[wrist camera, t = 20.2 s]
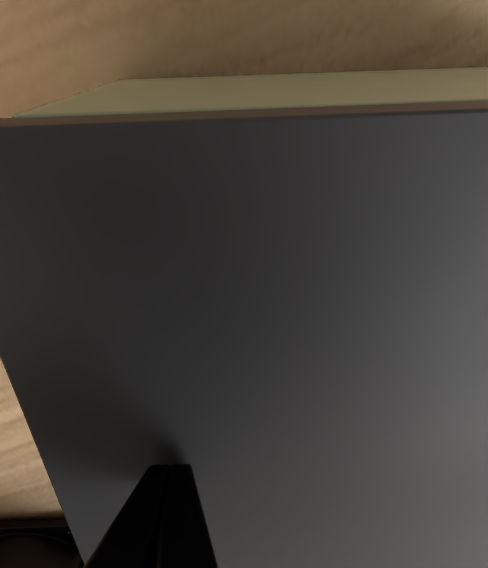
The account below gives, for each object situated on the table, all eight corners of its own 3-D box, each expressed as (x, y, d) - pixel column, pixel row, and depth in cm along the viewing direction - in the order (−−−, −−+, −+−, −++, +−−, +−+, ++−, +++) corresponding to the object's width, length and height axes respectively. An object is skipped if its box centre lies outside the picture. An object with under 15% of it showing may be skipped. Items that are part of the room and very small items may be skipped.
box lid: (115, 598, 13) (109, 630, 12) (-57, 120, 6) (-94, 130, 5) (554, 572, 13) (572, 602, 12) (862, 85, 6) (940, 91, 6)
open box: (172, 416, 19) (144, 587, 13) (118, 79, 12) (8, 114, 6) (453, 405, 19) (553, 570, 13) (555, 64, 12) (858, 85, 6)
